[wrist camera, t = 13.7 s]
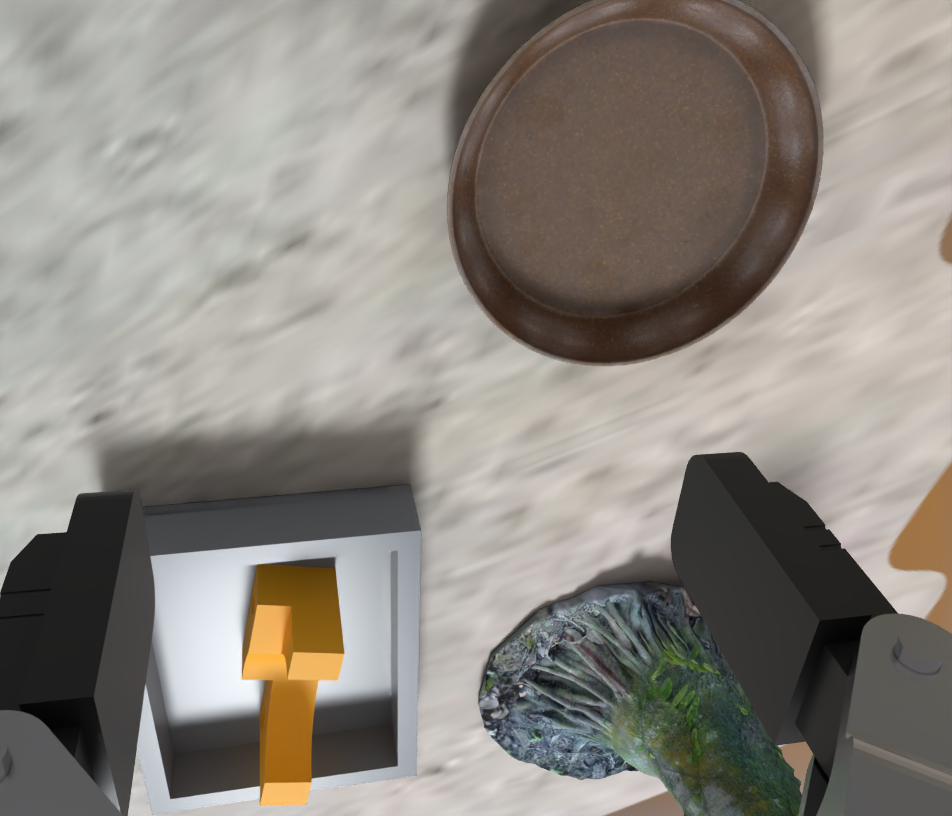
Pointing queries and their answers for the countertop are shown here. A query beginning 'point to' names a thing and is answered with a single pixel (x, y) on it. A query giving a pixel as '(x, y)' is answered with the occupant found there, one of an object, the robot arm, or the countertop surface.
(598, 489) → the countertop surface
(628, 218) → the plant saucer
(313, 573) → the pipe clamp
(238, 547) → the tray
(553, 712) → the tree stump
